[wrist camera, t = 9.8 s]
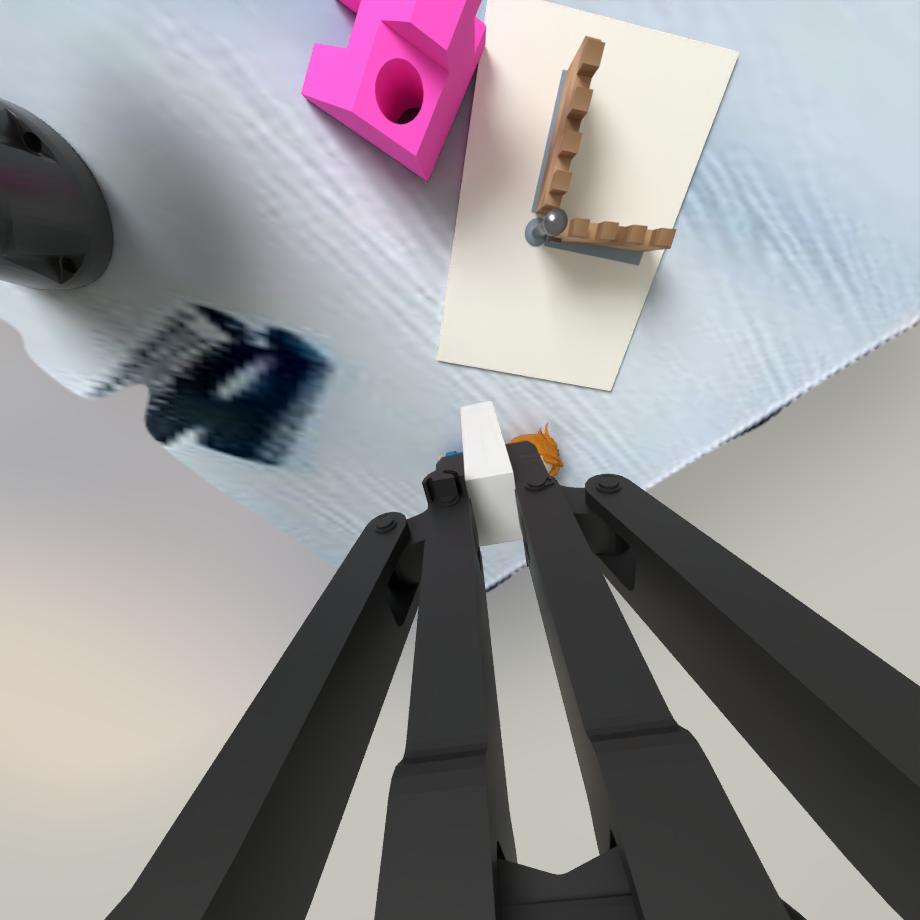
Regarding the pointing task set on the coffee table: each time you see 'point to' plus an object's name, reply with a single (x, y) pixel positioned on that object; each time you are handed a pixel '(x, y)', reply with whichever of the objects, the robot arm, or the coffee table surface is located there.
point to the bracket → (400, 74)
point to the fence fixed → (569, 123)
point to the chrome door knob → (551, 223)
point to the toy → (544, 447)
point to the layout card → (570, 189)
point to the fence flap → (614, 235)
